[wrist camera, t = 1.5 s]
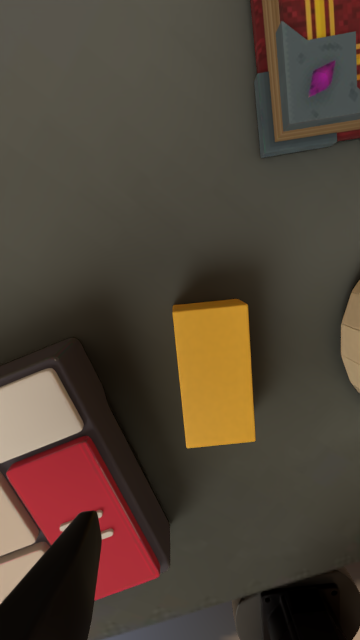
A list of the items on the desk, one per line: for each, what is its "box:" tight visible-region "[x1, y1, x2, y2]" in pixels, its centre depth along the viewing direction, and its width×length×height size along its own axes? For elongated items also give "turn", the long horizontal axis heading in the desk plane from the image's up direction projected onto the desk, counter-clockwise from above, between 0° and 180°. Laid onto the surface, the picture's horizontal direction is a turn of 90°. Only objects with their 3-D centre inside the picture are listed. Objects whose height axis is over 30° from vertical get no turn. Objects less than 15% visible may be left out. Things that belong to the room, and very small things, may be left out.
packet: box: [173, 299, 255, 448], centre depth 18 cm, size 8×4×2 cm, turn 6°
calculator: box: [0, 338, 170, 604], centre depth 18 cm, size 11×4×15 cm
